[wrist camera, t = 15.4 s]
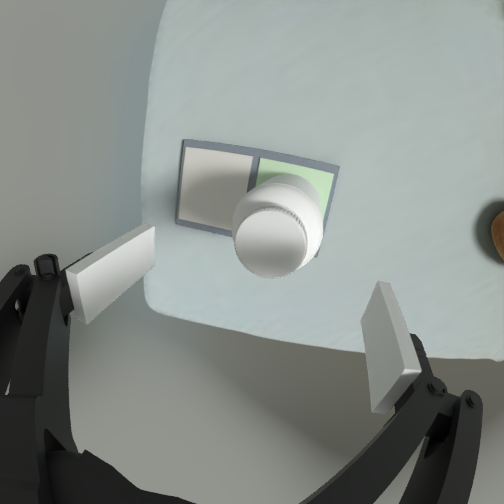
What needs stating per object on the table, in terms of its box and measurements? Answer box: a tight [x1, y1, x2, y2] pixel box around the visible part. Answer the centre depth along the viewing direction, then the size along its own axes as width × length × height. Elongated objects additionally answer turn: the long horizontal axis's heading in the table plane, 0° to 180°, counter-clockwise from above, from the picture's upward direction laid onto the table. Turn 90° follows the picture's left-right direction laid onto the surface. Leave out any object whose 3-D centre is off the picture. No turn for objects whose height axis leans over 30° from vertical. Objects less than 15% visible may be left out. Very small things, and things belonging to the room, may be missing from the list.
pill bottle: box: [231, 174, 323, 279], centre depth 26 cm, size 8×8×15 cm
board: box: [176, 139, 339, 257], centre depth 34 cm, size 12×20×1 cm, turn 81°
